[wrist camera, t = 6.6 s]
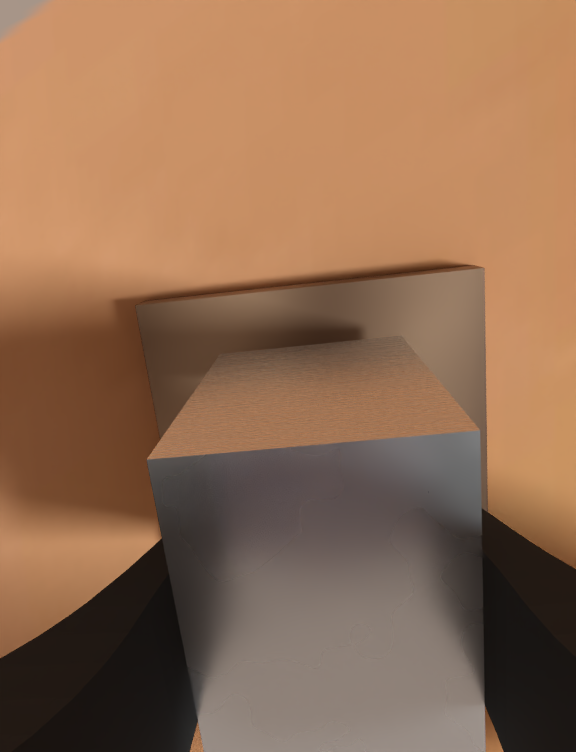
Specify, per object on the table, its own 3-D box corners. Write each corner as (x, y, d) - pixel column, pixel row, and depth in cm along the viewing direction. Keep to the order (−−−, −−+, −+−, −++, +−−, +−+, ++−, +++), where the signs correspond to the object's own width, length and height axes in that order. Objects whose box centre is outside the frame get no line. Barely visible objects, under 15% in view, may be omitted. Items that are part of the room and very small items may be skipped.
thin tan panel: (474, 265, 16) (526, 278, 12) (479, 557, 19) (523, 645, 15) (145, 301, 17) (95, 323, 13) (196, 578, 19) (167, 666, 15)
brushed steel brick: (401, 335, 15) (480, 430, 8) (414, 559, 16) (486, 791, 10) (220, 353, 15) (147, 459, 8) (252, 570, 17) (214, 803, 10)
